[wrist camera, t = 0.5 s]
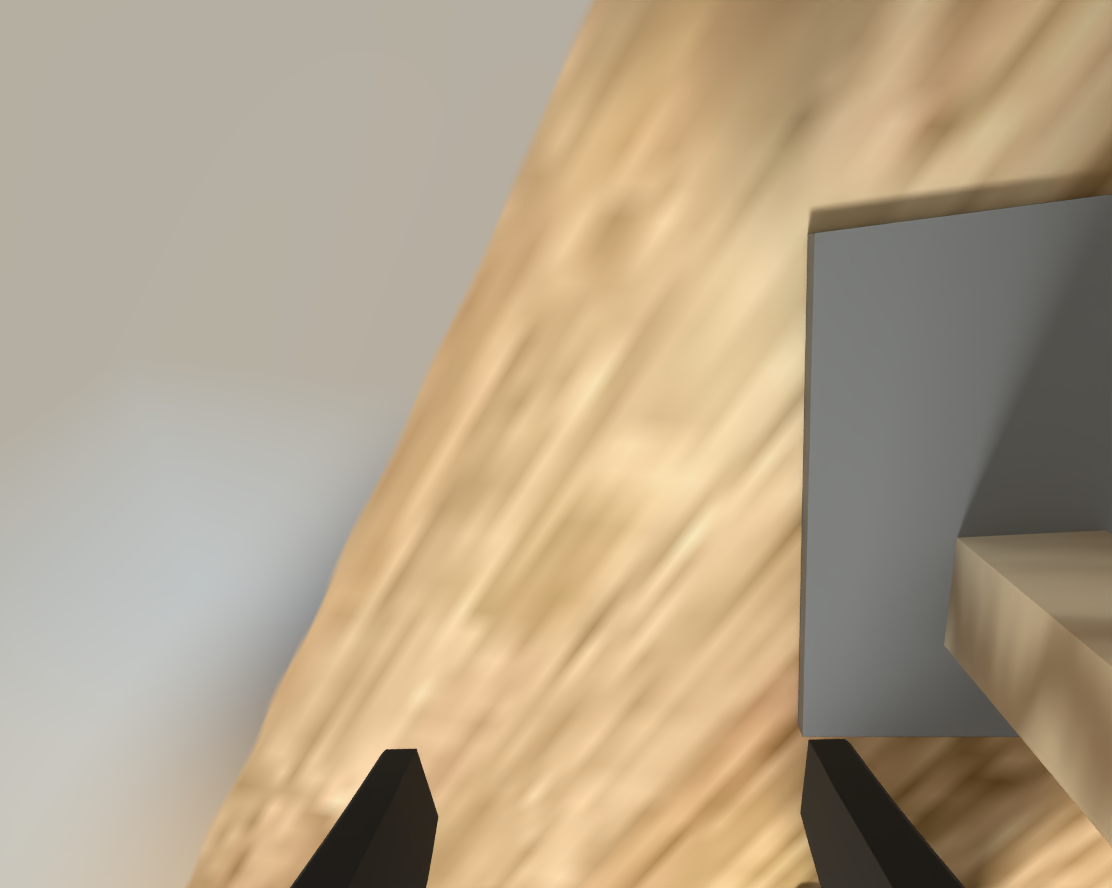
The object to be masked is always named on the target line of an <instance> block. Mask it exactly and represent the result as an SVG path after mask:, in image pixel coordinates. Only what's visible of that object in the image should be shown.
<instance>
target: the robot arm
mask: <svg viewBox="0 0 1112 888" xmlns="http://www.w3.org/2000/svg"><path fill="white" fill-rule="evenodd" d="M801 817H802V820H803V824H804V828H805V831H806V835H807V839H808V843H809V846H810V850H811V853H812V857H813V860H814V864H815V867H816V871H817V874H818V878H819V881H820V885H821V887H822V888H965V887H964V886H963V885H962V883H961V882H960V881H959V880H958V879H957V878H956V876H955V875H954V874H953V873H952V872H951V870H950V869H949V868H948V867H947V866H946V865H945V863H944V862H943V861H942V860H941V859H940V857H939V856H938V855H937V854H936V853H935V852H934V850H933V849H932V848H931V847H930V845H929V844H928V843H927V842H926V841H925V839H924V838H923V837H922V836H921V834H920V833H919V832H918V831H917V830H916V828H915V827H914V826H913V825H912V823H911V822H910V821H909V820H908V818H907V817H906V816H905V814H904V813H903V812H902V811H901V809H900V808H899V807H898V806H897V804H896V803H895V802H894V801H893V799H892V798H891V797H890V795H889V794H888V793H887V792H886V790H885V789H884V788H883V786H882V785H881V784H880V783H879V781H878V780H877V779H876V777H875V776H874V775H873V773H872V772H871V771H870V769H869V768H868V767H867V765H866V764H865V763H864V761H863V760H862V759H861V757H860V756H859V755H858V753H857V752H856V751H855V749H854V748H853V746H852V745H851V744H850V743H849V742H848V741H847V740H845V739H821V740H809V741H808V750H807V759H806V768H805V777H804V786H803V795H802V804H801ZM437 821H438V814H437V811H436V808H435V805H434V802H433V799H432V795H431V792H430V789H429V786H428V783H427V780H426V777H425V774H424V771H423V767H422V764H421V761H420V758H419V755H418V752H417V749H386V750H385V751H384V752H383V753H382V754H381V756H380V757H379V759H378V760H377V762H376V763H375V765H374V766H373V768H372V769H371V771H370V772H369V774H368V776H367V777H366V779H365V780H364V782H363V783H362V785H361V786H360V788H359V789H358V791H357V792H356V794H355V795H354V797H353V798H352V800H351V801H350V803H349V804H348V806H347V807H346V809H345V810H344V812H343V813H342V815H341V816H340V818H339V819H338V820H337V822H336V823H335V825H334V826H333V828H332V829H331V831H330V832H329V834H328V835H327V837H326V838H325V839H324V841H323V842H322V844H321V845H320V846H319V848H318V849H317V851H316V852H315V853H314V855H313V856H312V858H311V859H310V861H309V862H308V863H307V865H306V866H305V868H304V869H303V870H302V872H301V873H300V875H299V876H298V878H297V879H296V880H295V882H294V883H293V884H292V886H291V887H290V888H426V885H427V881H428V875H429V870H430V864H431V858H432V853H433V847H434V840H435V834H436V828H437Z"/></svg>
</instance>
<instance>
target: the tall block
mask: <svg viewBox="0 0 1112 888" xmlns="http://www.w3.org/2000/svg"><path fill="white" fill-rule="evenodd" d="M944 646H945V647H946V648H947V649H948V651H949V652H950V653H951V654H952V655H953V657H954V658H955V659H956V660H957V661H958V663H959V664H960V665H961V666H962V667H963V669H964V670H965V671H966V672H967V673H968V675H969V676H970V677H971V678H972V680H973V681H974V682H975V683H976V684H977V686H978V687H979V688H980V689H981V690H982V692H983V693H984V694H985V695H986V696H987V698H988V699H989V700H990V701H991V702H992V704H993V705H994V706H995V707H996V708H997V710H998V711H999V712H1000V713H1001V714H1002V716H1003V717H1004V718H1005V719H1006V720H1007V722H1008V723H1009V724H1010V725H1011V726H1012V728H1013V729H1014V730H1015V731H1016V732H1017V734H1018V735H1019V736H1020V737H1021V738H1022V740H1023V741H1024V742H1025V743H1026V744H1027V746H1028V747H1029V748H1030V749H1031V750H1032V752H1033V753H1034V754H1035V755H1036V756H1037V758H1038V759H1039V760H1040V761H1041V763H1042V764H1043V765H1044V766H1045V767H1046V769H1047V770H1048V771H1049V772H1050V773H1051V775H1052V776H1053V777H1054V778H1055V779H1056V781H1057V782H1058V783H1059V784H1060V785H1061V787H1062V788H1063V789H1064V790H1065V791H1066V793H1067V794H1068V795H1069V796H1070V797H1071V799H1072V800H1073V801H1074V802H1075V803H1076V805H1077V806H1078V807H1079V808H1080V809H1081V811H1082V812H1083V813H1084V814H1085V815H1086V817H1087V818H1088V819H1089V820H1090V821H1091V823H1092V824H1093V825H1094V826H1095V827H1096V829H1097V830H1098V831H1099V832H1100V833H1101V835H1102V836H1103V837H1104V838H1105V840H1106V841H1107V842H1108V843H1109V844H1110V846H1111V847H1112V534H1111V533H1109V532H1107V531H1105V530H1102V531H1081V532H1061V533H1041V534H1021V535H1000V536H980V537H960V538H957V542H956V550H955V558H954V567H953V575H952V583H951V591H950V600H949V608H948V616H947V624H946V633H945V641H944Z"/></svg>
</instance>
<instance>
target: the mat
mask: <svg viewBox="0 0 1112 888" xmlns="http://www.w3.org/2000/svg"><path fill="white" fill-rule="evenodd" d="M1102 530H1105V531H1107V532H1109V533H1111V534H1112V194H1110V195H1102V196H1095V197H1087V198H1080V199H1072V200H1064V201H1057V202H1049V203H1041V204H1034V205H1026V206H1018V207H1011V208H1003V209H996V210H988V211H980V212H973V213H965V214H957V215H950V216H942V217H934V218H927V219H919V220H912V221H904V222H896V223H889V224H881V225H873V226H866V227H858V228H851V229H843V230H835V231H828V232H820V233H812V234H808V262H807V311H806V360H805V408H804V457H803V506H802V555H801V604H800V653H799V702H798V726H799V728H800V731H801V734H802V736H803V737H1020V736H1019V735H1018V734H1017V732H1016V731H1015V730H1014V729H1013V728H1012V726H1011V725H1010V724H1009V723H1008V722H1007V720H1006V719H1005V718H1004V717H1003V716H1002V714H1001V713H1000V712H999V711H998V710H997V708H996V707H995V706H994V705H993V704H992V702H991V701H990V700H989V699H988V698H987V696H986V695H985V694H984V693H983V692H982V690H981V689H980V688H979V687H978V686H977V684H976V683H975V682H974V681H973V680H972V678H971V677H970V676H969V675H968V673H967V672H966V671H965V670H964V669H963V667H962V666H961V665H960V664H959V663H958V661H957V660H956V659H955V658H954V657H953V655H952V654H951V653H950V652H949V651H948V649H947V648H946V647H945V646H944V641H945V633H946V624H947V616H948V608H949V600H950V591H951V583H952V575H953V567H954V558H955V550H956V542H957V538H960V537H980V536H1000V535H1021V534H1041V533H1061V532H1081V531H1102Z"/></svg>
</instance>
